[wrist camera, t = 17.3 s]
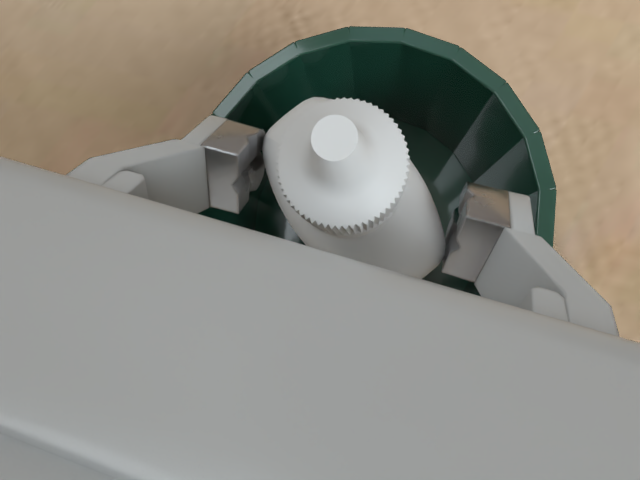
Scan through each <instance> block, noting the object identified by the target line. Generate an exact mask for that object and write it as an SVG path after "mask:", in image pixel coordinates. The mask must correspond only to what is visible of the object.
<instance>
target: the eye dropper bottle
mask: <svg viewBox="0 0 640 480" xmlns="http://www.w3.org/2000/svg"><path fill="white" fill-rule="evenodd" d="M393 121H394V119H393V118H389V114H387V113H384V110H383V109H378V106H372V103H366V101H365V100H364V101H360V100H359V99H355V100H353V99H352V98H349V99H346V98H345V97H344V98H342V99H339V98H336V99H335V100H333V99H327V98H323V97H312V98H310V99H307V100H304V101H303V102H301V103H300V104H298V105H297V106H296V107H294V108H293V109H292V110H290V111H289V112H288V113H287V114H285V115H284V116H283V117H282V118H281V119H279V120H278V121H277V122H276V123H275V124H274V125H273V126H272V127H271V128H270V129H269V130H268V132H267V133H266V135H265V136H264V139H263V146H262V152H263V159H264V164H265V168H266V172H267V175H268V179H269V182H270V185H271V187H272V190H273V193H274V195H275V197H276V200H277V202H278V204H279V206H280V208H281V210H282V212H283V213H284V215H285V217H286V219H287V220H288V222H289V223H290V225H291V226H292V228H293V229H294V231H295V232H296V233H297V235H298V236H299V237H300V239H301V240H302V241H303V242H304V244H305V245H306V246H310V247H313V248H316V249H320V250H323V251H327V252H330V253H334V254H337V255H340V256H344V257H347V258H351V259H354V260H358V261H361V262H364V263H368V264H371V265H375V266H378V267H382V268H385V269H388V270H392V271H395V272H399V273H402V274H406V275H409V276H412V277H416V278H419V279H422V278H424V277H425V276H426V275H427V274H429V273H430V272H431V271H432V270H433V269H435V268H436V267H437V266H438V265H439V263H440V262H441V260H442V259H443V257H444V255H445V247H446V242H445V237H444V231H443V228H442V224H441V221H440V217H439V215H438V212H437V209H436V206H435V204H434V201H433V199H432V196H431V194H430V192H429V190H428V188H427V186H426V184H425V182H424V180H423V179H422V177H421V175H420V173H419V172H418V170H417V169H416V167H415V166H414V164H413V163H412V162H411V160H410V159H409V158H410V156H409V155H408V152H409V149H408V148H406V146H407V142H405V141H404V138H405V136H404V135H402V134H401V132H402V130H401V129H399V128H398V124H396V123H394V122H393Z"/></svg>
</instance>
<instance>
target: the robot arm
mask: <svg viewBox="0 0 640 480" xmlns="http://www.w3.org/2000/svg"><path fill="white" fill-rule="evenodd" d="M265 135H266V133H265V131H264V129H261V128H258V127H254V126H251V125H247V124H243V123H240V122H236V121H233V120H229V119H226V118H222V117H217V116H212V115H209V116H208V117H207V118H206V119H205V120H203V121H202V122H201V123H200V124H199V125H198V126H197V127H195V128H194V129H193V130H192V131H191V132H190V133H188V134H187V135H186V136H185V137H184V138H183V139H182V140H178V139H173V140H168V141H164V142H159V143H155V144H150V145H146V146H141V147H137V148H133V149H128V150H124V151H119V152H115V153H110V154H106V155H101V156H97V157H92V158H89V159H88V160H86V161H85V162H83V163H82V164H81V165H79V166H78V167H76V168H75V169H74V170H72V171H71V172H69V173H68V174H67V175H62V174H59V173H56V172H52V171H49V170H45V169H42V168H39V167H35V166H32V165H28V164H25V163H21V162H18V161H15V160H11V159H8V158H4V157H1V156H0V480H640V343H639V342H635V341H632V340H629V339H625V338H622V337H620V336H619V333H618V329H617V326H616V322H615V318H614V315H613V311H612V308H611V306H610V305H609V304H608V303H607V302H606V301H605V300H604V299H603V298H602V297H601V296H600V295H599V294H598V293H597V292H596V291H595V290H594V289H593V288H592V287H591V286H590V285H589V284H588V283H587V282H586V281H585V280H584V279H583V278H582V277H581V276H580V275H579V274H578V273H577V272H576V271H575V270H574V269H573V268H572V267H571V266H570V265H569V264H568V263H567V262H566V261H565V260H564V259H563V258H562V257H561V256H560V255H559V254H558V253H557V252H556V251H555V250H554V249H553V248H552V247H551V246H550V245H549V244H548V243H547V242H546V241H545V240H544V239H543V238H542V237H540V236H537V235H535V231H534V223H533V216H532V209H531V202H530V197H529V196H528V195H524V194H519V193H514V192H510V191H506V190H502V189H497V188H493V187H489V186H484V185H480V184H476V183H471V182H466V183H465V185H464V187H463V189H462V191H461V194H460V198H459V207H457V208H456V209H454V211H453V213H452V216H451V218H450V221H449V224H448V227H447V231H446V236H445V242H446V246H447V247H446V249H445V255H444V257H443V260H442V270H441V272H442V273H445V274H448V275H452V276H455V277H458V278H461V279H464V280H467V281H471V282H474V285H475V286H476V288H477V290H478V292H479V293H480V295H481V296H478V295H474V294H471V293H467V292H464V291H461V290H457V289H454V288H450V287H447V286H443V285H440V284H437V283H433V282H430V281H426V280H423V279H419V278H416V277H412V276H409V275H406V274H402V273H399V272H395V271H392V270H388V269H385V268H382V267H378V266H375V265H371V264H368V263H364V262H361V261H358V260H354V259H351V258H347V257H344V256H340V255H337V254H334V253H330V252H327V251H323V250H320V249H316V248H313V247H310V246H306V245H303V244H299V243H296V242H292V241H289V240H285V239H282V238H279V237H275V236H272V235H268V234H265V233H261V232H258V231H255V230H251V229H248V228H244V227H241V226H237V225H234V224H231V223H227V222H224V221H220V220H217V219H213V218H210V217H207V216H203V215H200V214H198V213H200V212H202V211H204V210H206V209H208V208H209V206H210V207H213V208H217V209H221V210H225V211H229V212H233V213H237V214H239V213H240V212H241V210H242V209H243V208H244V206H245V205H246V204H247V202H248V201H249V193H251V192H254V191H256V190H257V188H258V187H259V185H260V183H261V181H262V178H263V175H264V170H265V164H264V159H263V154H262V153H261V150H262V146H263V139H264V136H265Z"/></svg>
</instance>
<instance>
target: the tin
mask: <svg viewBox="0 0 640 480" xmlns="http://www.w3.org/2000/svg"><path fill="white" fill-rule="evenodd" d="M312 97H323V98H327V99H333V100H335V99H336V98H339V99H342V98H344V97H345V98H346V99H349V98H352V99H353V100H355V99H359V100H360V101H364V100H365V101H366V103H372V106H378V109H383V110H384V113H387V114H389V118H393V119H394V121H393V122H394V123H396V124H398V128H399V129H401V130H402V132H401V134H402V135H404V136H405V138H404V141H405V142H407V146H406V148H408V149H409V152H408V155H409V156H410V158H409V159H410V160H411V162H412V163H413V164H414V166H415V167H416V169H417V170H418V172H419V173H420V175H421V177H422V179H423V180H424V182H425V184H426V186H427V188H428V190H429V192H430V194H431V196H432V199H433V201H434V204H435V206H436V209H437V212H438V215H439V217H440V221H441V224H442V228H443V231H444V237H445V236H446V231H447V227H448V224H449V221H450V218H451V216H452V213H453V211H454V209H456V208H457V207H459V198H460V194H461V191H462V189H463V187H464V185H465V183H466V182H471V183H476V184H480V185H484V186H489V187H493V188H497V189H502V190H506V191H510V192H514V193H519V194H524V195H528V196H529V197H530V202H531V209H532V216H533V223H534V231H535V235H537V236H540V237H542V238H543V239H544V240H545V241H546V242H547V243H548V244H549V245H550V246H551V247H552V248H553V237H554V221H555V206H556V185H555V181H554V178H553V174H552V171H551V167H550V163H549V160H548V156H547V152H546V149H545V145H544V142H543V138H542V134H541V132H539V131H540V130H539V128H538V126H537V125H536V123H535V122H534V121H533V119H532V118H531V116H530V115H529V113H528V112H527V110H526V109H525V107H524V106H523V105H522V103H521V102H520V100H519V99H518V97H517V96H516V94H515V93H514V91H513V90H512V88H511V87H510V86H509V84H508V83H506V81H505V80H504V79H503V78H501V77H500V76H499V75H497V74H496V73H495V72H493V71H492V70H491V69H489V68H488V67H487V66H485V65H484V64H483V63H481V62H480V61H479V60H477V59H476V58H475V57H473V56H472V55H471V54H469V53H468V52H467V51H465V50H464V49H463V48H461V47H459V46H458V45H455V44H452V43H449V42H446V41H443V40H440V39H437V38H434V37H431V36H428V35H426V34H423V33H420V32H417V31H414V30H411V29H408V28H406V29H405V28H395V27H355V26H350V27H349V28H348V27H344V28H341V29H337V30H334V31H330V32H327V33H323V34H320V35H316V36H312V37H309V38H305V39H302V40H298V41H296V42H295V43H294V42H293V43H291V44H290V45H288V46H287V47H285V48H284V49H282V50H280V51H279V52H277V53H276V54H274V55H273V56H271V57H269V58H268V59H266V60H265V61H263V62H262V63H260V64H258V65H257V66H255V67H254V68H252V69H251V70H249V71H248V72H247V73H246V74H245V75H244V76H243V77H242V79H241V80H240V81H239V82H238V83H237V84H236V86H235V87H234V88H233V89H232V90H231V91H230V92H229V94H228V95H227V96H226V97H225V98H224V99H223V101H222V102H221V103H220V104H219V105H218V106H217V108H216V109H215V110H214V111H213V114H211V115H212V116H217V117H222V118H226V119H229V120H233V121H236V122H240V123H243V124H247V125H251V126H254V127H258V128H261V129H264V131H265V133H267V132H268V130H269V129H270V128H271V127H272V126H273V125H274V124H275V123H276V122H277V121H278V120H279V119H281V118H282V117H283V116H284V115H285V114H287V113H288V112H289V111H290V110H292V109H293V108H294V107H296V106H297V105H298V104H300V103H301V102H303V101H304V100H307V99H310V98H312ZM261 153H262V154H263V152H262V150H261ZM198 214H200V215H203V216H207V217H210V218H213V219H217V220H220V221H224V222H227V223H231V224H234V225H237V226H241V227H244V228H248V229H251V230H255V231H258V232H261V233H265V234H268V235H272V236H275V237H279V238H282V239H285V240H289V241H292V242H296V243H299V244H303V245H305V244H304V242H303V241H302V240H301V239H300V237H299V236H298V235H297V233H296V232H295V231H294V229H293V228H292V226H291V225H290V223H289V222H288V220H287V219H286V217H285V215H284V213H283V212H282V210H281V208H280V206H279V204H278V202H277V200H276V197H275V195H274V193H273V190H272V187H271V185H270V182H269V179H268V175H267V172H266V168H265V170H264V175H263V178H262V181H261V183H260V185H259V187H258V188H257V190H256V191H254V192H251V193H249V201H248V202H247V204H246V205H245V206H244V208H243V209H242V210H241V212H240V213H239V214H237V213H233V212H229V211H225V210H221V209H217V208H213V207H210V206H209V208H208V209H206V210H204V211H202V212H200V213H198ZM446 247H447V246H446ZM446 247H445V249H446ZM442 260H443V259H442ZM442 260H441V262H440V263H439V265H438V266H437V267H436V268H435V269H433V270H432V271H431V272H430V273H429V274H427V275H426V276H425V277H424V278H422V279H423V280H426V281H430V282H433V283H437V284H440V285H443V286H447V287H450V288H454V289H457V290H461V291H464V292H467V293H471V294H474V295H478V296H481V295H480V293H479V292H478V290H477V288H476V286H475V285H474V282H471V281H467V280H464V279H461V278H458V277H455V276H452V275H448V274H445V273H442V272H441V270H442Z"/></svg>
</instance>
